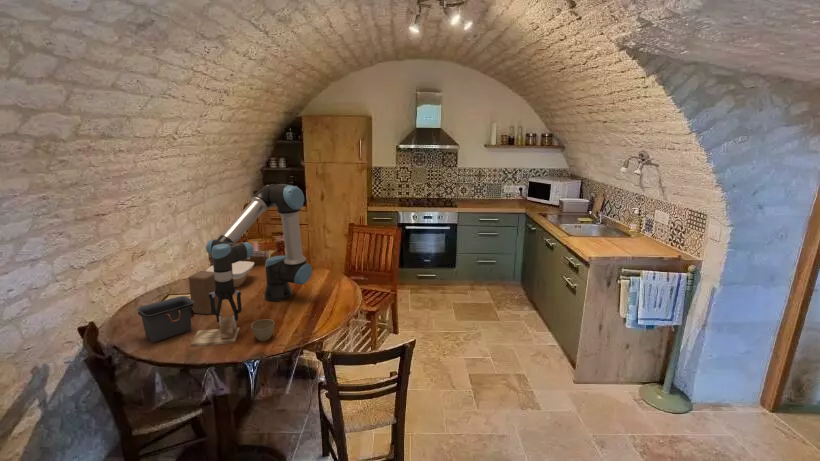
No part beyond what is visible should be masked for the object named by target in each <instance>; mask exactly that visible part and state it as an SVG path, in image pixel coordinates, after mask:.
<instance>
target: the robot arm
mask: <svg viewBox="0 0 820 461" xmlns="http://www.w3.org/2000/svg"><path fill="white" fill-rule="evenodd" d="M304 203H305V195H304V193H303V190H302V189H300V188H299V187H298V186H294V185H291V184H290V185H289V184H277V183H272V184H268V185H266V186H264V187H263V188H261V189H260V190H258V191H257V192H256V193H255V194H253V196H252V197H251V198H250V202H249V203H248V204H247V205H246V207H245V208H243V210H242V211H241V212H240V213H239V214H238V215H237V217H236V218H234V220H233V221H232V222H231V223H230V224H229V225H228V226H227V227H226V228H225V230H224V231H223V232H222V233H221V234H220V235H219V236H218V237H217V239H210V240H208V241H207V243H206V246H205V251H206V252H207V254H208V255H210V256H211V257H212V265H213V268H214V279H215V292H213V293H212V292H210V294H209V298H210V302H211V313H210V314H211V315H212V316H215V318H216V322H217V323H219V326H220V325H221V322H222V320H223V314H222V313H221V310H222V305H223V300H228V302H229V305H230V307H231V310H232V312H233V313H232V314H231V315H232V316H231V317H233V327H234V328H237V322H238V320H239V314H241V313H242V310H243V307H242V299H241V295H242V290H236V289H235V287H234V283H233V271H232V264H233V263H236V262H239V261H246V260H247V259H250V258H252V256H253V255H254V247H253V245H252V244H251V243H250V242H247V241H245V242H241V243H237V242H238V241H239V240H240V238H241V237H242V236H244V234H245V233H246V232H247V231H248V229H249V228H250V227H251V226H252V225H253V224H254V222H256V220H257V219H258V218H259V217H260V216H261V214H262V213H263V212H267V211H268V210H269V209H270V208H272V207H273V208H276V211H277V213H278V214H279V215H280V218H281V226H282V233H283V234H282V235H283V240H284V249H285V255H276V256H271V257H269V258H266V260H265V266H264V267H265V276H266V286H265V289H264V290H265V291H264V292H263V294H264V295H263V296H264V300H266V301H267V302H283V301H286V300H289V299H290V298H292V297H293V291H292V288H291V286H290V283H291V284H295V285H304V284H306V283H308V282H309V280H310V279H311V277H312V273H313V268H312V265H311V264H309V263H308V262H307V257H306V256H304V254H303V244H302V238H301V235H302V234H301V228H300V218H299V213H300V212H301V208H303V206H304ZM215 294H216V295H217V296H218V297H219V301H218V307H217V310H215V299H214V297H215ZM234 294H235V296H236V302H237V305H236V303H235V300H234Z"/></svg>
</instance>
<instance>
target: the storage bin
mask: <svg viewBox="0 0 820 461" xmlns="http://www.w3.org/2000/svg"><path fill="white" fill-rule="evenodd" d="M193 303H194V301H193V300H191V297H188V296H184V295H182V296H176V297H171V298H169V299H165V300H164V299H163V300H161V301H160V300H159V301H157V302H153V303H148V304H144V305H141V306H139V307H137V308H136V311H137V314H138V315H139V316H140V317H141V320H142V325H143V328H144V334H145V337H146V338H147V339H149V340H150V341H152V342H153V343H156V342H157V343H158V342H159V341H162V340H165V339H168V338H171V337H174V336H177V335H180V334H183V333H187V332H189V331H191V329H192V307H193V306H194V305H193Z"/></svg>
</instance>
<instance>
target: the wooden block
mask: <svg viewBox="0 0 820 461" xmlns="http://www.w3.org/2000/svg"><path fill="white" fill-rule="evenodd" d="M188 286H189V294H190V299H191V300H193V301H194V303H193V305H194V306H193V307H192V308H191V311H192V310H193V312H194V313H193V312H192V313H193V314H201V315H210V314H211V302H210V298H209V294H210V292H212V293H213V292H215V279H214V272H209V271H206V270H200V271H197V272H195V273H193V274H191V275H189V276H188ZM214 299H215V311H217V307H218V301H219V297H218V296H217V295H216V294H215V297H214Z"/></svg>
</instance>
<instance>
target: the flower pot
mask: <svg viewBox="0 0 820 461" xmlns="http://www.w3.org/2000/svg"><path fill="white" fill-rule="evenodd" d="M250 327H251V330H252V332H253V334H254V336H255V337H256V339H257V340H258V341H260V342H265V341H268V340H270V338H271V337H272V335H273V333H274V330H275V321H274V320H272V319H270V318H269V319H267V318H266V319H258V320H256V321H254V322H252V323H251V325H250Z"/></svg>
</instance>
